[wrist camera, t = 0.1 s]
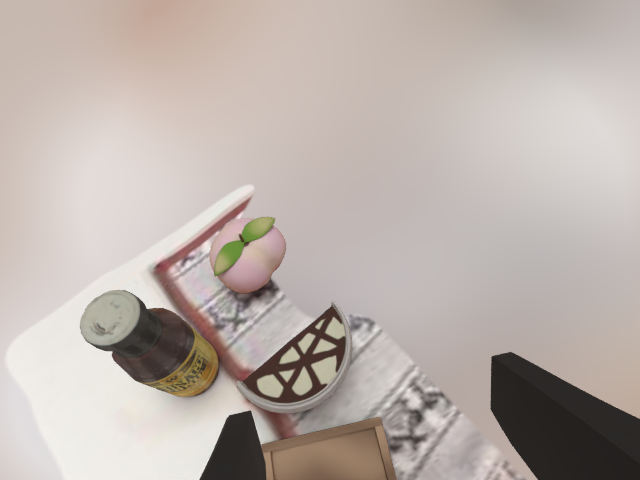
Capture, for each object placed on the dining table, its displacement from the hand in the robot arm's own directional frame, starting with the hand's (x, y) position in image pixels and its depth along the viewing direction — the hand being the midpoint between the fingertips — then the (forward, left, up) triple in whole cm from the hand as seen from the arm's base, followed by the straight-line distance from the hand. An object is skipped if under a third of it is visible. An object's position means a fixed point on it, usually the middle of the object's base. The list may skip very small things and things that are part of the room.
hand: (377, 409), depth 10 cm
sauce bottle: (+9, +15, -32) cm, 37 cm away
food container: (+5, +2, -32) cm, 33 cm away
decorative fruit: (+20, +7, -32) cm, 39 cm away
